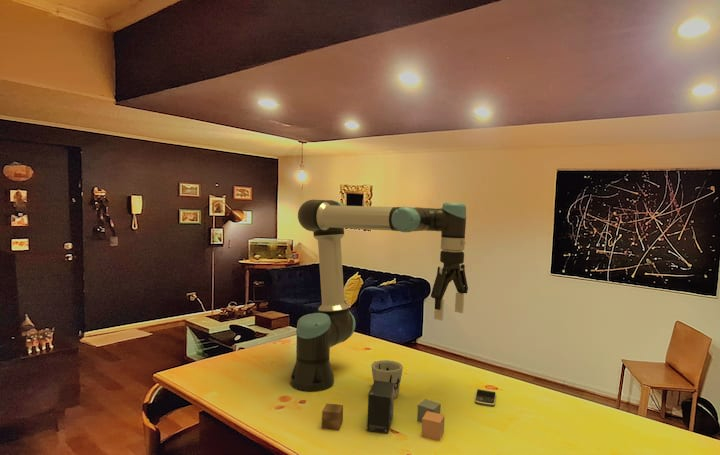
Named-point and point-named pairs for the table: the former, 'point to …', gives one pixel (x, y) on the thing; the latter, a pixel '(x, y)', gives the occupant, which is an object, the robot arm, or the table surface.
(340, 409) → the walnut cube
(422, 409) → the slate cube
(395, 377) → the mug
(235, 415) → the table surface
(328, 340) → the robot arm
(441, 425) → the terracotta cube
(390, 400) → the small box
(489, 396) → the cell phone
